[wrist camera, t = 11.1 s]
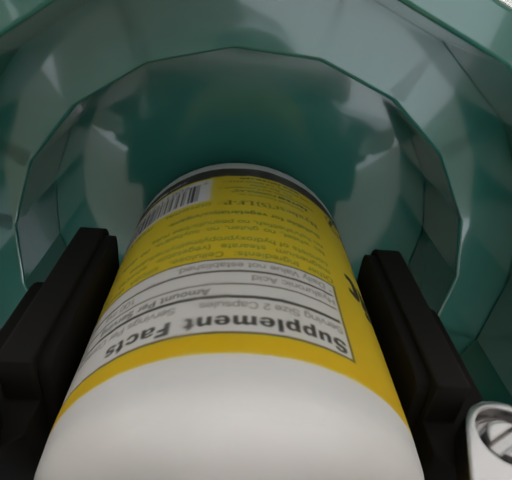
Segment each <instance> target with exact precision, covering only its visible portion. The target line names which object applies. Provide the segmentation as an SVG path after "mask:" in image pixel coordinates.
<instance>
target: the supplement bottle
mask: <svg viewBox="0 0 512 480" xmlns="http://www.w3.org/2000/svg"><path fill="white" fill-rule="evenodd" d="M34 480H425V479H424V474H423V470H422V466H421V463H420V460H419V457H418V453H417V450H416V447H415V443H414V440H413V437H412V434H411V431H410V428H409V425H408V422H407V420H406V417H405V414H404V411H403V409H402V406H401V403H400V400H399V398H398V395H397V392H396V389H395V386H394V384H393V381H392V378H391V375H390V373H389V370H388V367H387V364H386V362H385V359H384V356H383V353H382V351H381V348H380V345H379V343H378V340H377V337H376V335H375V332H374V329H373V327H372V324H371V320H370V317H369V314H368V311H367V308H366V306H365V304H364V301H363V298H362V296H361V293H360V290H359V287H358V284H357V282H356V279H355V277H354V274H353V271H352V268H351V265H350V262H349V260H348V257H347V254H346V251H345V248H344V245H343V242H342V240H341V237H340V235H339V232H338V230H337V227H336V225H335V223H334V221H333V219H332V217H331V215H330V213H329V211H328V210H327V208H326V207H325V205H324V204H323V203H322V202H321V200H320V199H319V198H318V197H317V196H316V195H315V194H314V193H313V192H312V191H311V190H310V189H309V188H307V187H306V186H305V185H304V184H302V183H301V182H299V181H298V180H296V179H294V178H293V177H291V176H289V175H287V174H284V173H282V172H280V171H277V170H275V169H271V168H268V167H265V166H260V165H255V164H247V163H223V164H216V165H210V166H206V167H203V168H200V169H197V170H194V171H192V172H189V173H187V174H185V175H183V176H181V177H179V178H178V179H176V180H175V181H173V182H172V183H170V184H169V185H168V186H167V187H165V188H164V189H163V190H162V191H161V192H160V193H159V194H158V195H157V196H156V197H155V198H154V199H153V200H152V202H151V203H150V204H149V205H148V207H147V208H146V210H145V212H144V213H143V215H142V217H141V219H140V221H139V223H138V225H137V227H136V230H135V232H134V234H133V236H132V238H131V240H130V243H129V246H128V248H127V251H126V253H125V255H124V258H123V260H122V263H121V265H120V267H119V270H118V272H117V275H116V277H115V280H114V282H113V285H112V287H111V289H110V292H109V295H108V297H107V299H106V301H105V303H104V305H103V308H102V311H101V314H100V316H99V318H98V321H97V324H96V326H95V328H94V330H93V333H92V335H91V337H90V340H89V342H88V345H87V347H86V350H85V352H84V355H83V357H82V359H81V362H80V364H79V366H78V369H77V371H76V373H75V376H74V378H73V380H72V383H71V385H70V388H69V390H68V392H67V395H66V397H65V399H64V402H63V404H62V407H61V409H60V411H59V414H58V416H57V418H56V420H55V423H54V425H53V427H52V430H51V432H50V435H49V437H48V440H47V442H46V445H45V448H44V451H43V453H42V456H41V459H40V461H39V464H38V467H37V470H36V472H35V476H34Z"/></svg>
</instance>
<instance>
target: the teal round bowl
mask: <svg viewBox="0 0 512 480" xmlns="http://www.w3.org/2000/svg"><path fill="white" fill-rule="evenodd" d="M223 163H247V164H255V165H260V166H265V167H268V168H271V169H275V170H277V171H280V172H282V173H284V174H287V175H289V176H291V177H293V178H294V179H296V180H298V181H299V182H301V183H302V184H304V185H305V186H306V187H307V188H309V189H310V190H311V191H312V192H313V193H314V194H315V195H316V196H317V197H318V198H319V199H320V200H321V202H322V203H323V204H324V205H325V207H326V208H327V210H328V211H329V213H330V215H331V217H332V219H333V221H334V223H335V225H336V227H337V230H338V232H339V235H340V237H341V240H342V242H343V245H344V248H345V251H346V254H347V257H348V260H349V262H350V265H351V268H352V271H353V274H354V277H355V279H356V282H357V278H358V274H359V270H360V266H361V262H362V259H363V257H364V255H371V253H372V251H373V250H374V249H379V250H392V251H399V252H400V253H401V255H402V257H403V258H404V260H405V262H406V264H407V266H408V268H409V270H410V272H411V274H412V276H413V277H414V279H415V281H416V283H417V285H418V287H419V289H420V291H421V293H422V295H423V297H424V298H425V300H426V302H427V304H428V306H429V308H430V309H432V310H434V311H435V312H436V313H437V315H438V316H439V318H440V320H441V322H442V324H443V325H444V327H445V329H446V331H447V333H448V335H449V337H450V338H451V340H452V342H453V344H454V346H455V348H456V350H457V351H458V353H459V355H460V357H461V359H462V361H463V363H464V364H465V366H466V368H467V370H468V372H469V374H470V376H471V377H472V379H473V381H474V383H475V385H476V387H477V389H478V390H479V392H480V394H481V396H482V398H483V400H484V401H496V402H501V403H505V404H508V405H510V406H512V7H510V6H509V5H507V4H506V3H504V2H503V1H501V0H0V330H1V329H2V327H3V326H4V324H5V323H6V321H7V320H8V319H9V317H10V316H11V314H12V313H13V311H14V310H15V308H16V307H17V305H18V304H19V302H20V301H21V299H22V298H23V297H24V295H25V294H26V292H27V291H28V289H29V288H30V287H31V286H32V285H33V283H36V282H45V280H46V279H47V277H48V275H49V274H50V272H51V271H52V269H53V268H54V266H55V265H56V263H57V262H58V260H59V259H60V257H61V255H62V254H63V252H64V251H65V249H66V248H67V246H68V245H69V243H70V242H71V240H72V239H73V237H74V235H75V234H76V232H77V231H78V229H79V228H80V227H89V228H103V229H107V230H108V232H109V235H111V236H116V237H117V242H118V255H119V267H120V265H121V263H122V260H123V258H124V255H125V253H126V251H127V248H128V246H129V243H130V240H131V238H132V236H133V234H134V232H135V230H136V227H137V225H138V223H139V221H140V219H141V217H142V215H143V213H144V212H145V210H146V208H147V207H148V205H149V204H150V203H151V202H152V200H153V199H154V198H155V197H156V196H157V195H158V194H159V193H160V192H161V191H162V190H163V189H164V188H165V187H167V186H168V185H169V184H170V183H172V182H173V181H175V180H176V179H178V178H179V177H181V176H183V175H185V174H187V173H189V172H192V171H194V170H197V169H200V168H203V167H206V166H210V165H216V164H223Z"/></svg>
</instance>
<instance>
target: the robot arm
mask: <svg viewBox="0 0 512 480" xmlns="http://www.w3.org/2000/svg"><path fill="white" fill-rule="evenodd" d="M118 270H119V255H118V242H117V237H116V236H111V235H109V232H108V230H107V229H103V228H89V227H80V228H79V229H78V231H77V232H76V234H75V235H74V237H73V239H72V240H71V242H70V243H69V245H68V246H67V248H66V249H65V251H64V252H63V254H62V255H61V257H60V259H59V260H58V262H57V263H56V265H55V266H54V268H53V269H52V271H51V272H50V274H49V275H48V277H47V279H46V280H45V282H36V283H33V285H32V286H31V287H30V288H29V289H28V291H27V292H26V294H25V295H24V297H23V298H22V299H21V301H20V302H19V304H18V305H17V307H16V308H15V310H14V311H13V313H12V314H11V316H10V317H9V319H8V320H7V321H6V323H5V324H4V326H3V327H2V329H1V330H0V480H34V476H35V472H36V470H37V467H38V464H39V461H40V459H41V456H42V453H43V451H44V448H45V445H46V442H47V440H48V437H49V435H50V432H51V430H52V427H53V425H54V423H55V420H56V418H57V416H58V414H59V411H60V409H61V407H62V404H63V402H64V399H65V397H66V395H67V392H68V390H69V388H70V385H71V383H72V380H73V378H74V376H75V373H76V371H77V369H78V366H79V364H80V362H81V359H82V357H83V355H84V352H85V350H86V347H87V345H88V342H89V340H90V337H91V335H92V333H93V330H94V328H95V326H96V324H97V321H98V318H99V316H100V314H101V311H102V308H103V305H104V303H105V301H106V299H107V297H108V295H109V292H110V289H111V287H112V285H113V282H114V280H115V277H116V275H117V272H118ZM357 284H358V287H359V290H360V293H361V296H362V298H363V301H364V304H365V306H366V308H367V311H368V314H369V317H370V320H371V324H372V327H373V329H374V332H375V335H376V337H377V340H378V343H379V345H380V348H381V351H382V353H383V356H384V359H385V362H386V364H387V367H388V370H389V373H390V375H391V378H392V381H393V384H394V386H395V389H396V392H397V395H398V398H399V400H400V403H401V406H402V409H403V411H404V414H405V417H406V420H407V422H408V425H409V428H410V431H411V434H412V437H413V440H414V443H415V447H416V450H417V453H418V457H419V460H420V463H421V466H422V470H423V474H424V479H425V480H512V406H510V405H508V404H505V403H501V402H496V401H484V400H483V398H482V396H481V394H480V392H479V390H478V389H477V387H476V385H475V383H474V381H473V379H472V377H471V376H470V374H469V372H468V370H467V368H466V366H465V364H464V363H463V361H462V359H461V357H460V355H459V353H458V351H457V350H456V348H455V346H454V344H453V342H452V340H451V338H450V337H449V335H448V333H447V331H446V329H445V327H444V325H443V324H442V322H441V320H440V318H439V316H438V315H437V313H436V312H435V311H434V310H432V309H430V308H429V306H428V304H427V302H426V300H425V298H424V297H423V295H422V293H421V291H420V289H419V287H418V285H417V283H416V281H415V279H414V277H413V276H412V274H411V272H410V270H409V268H408V266H407V264H406V262H405V260H404V258H403V257H402V255H401V253H400V252H399V251H392V250H379V249H374V250H373V251H372V253H371V255H364V257H363V259H362V262H361V266H360V270H359V274H358V278H357Z"/></svg>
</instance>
